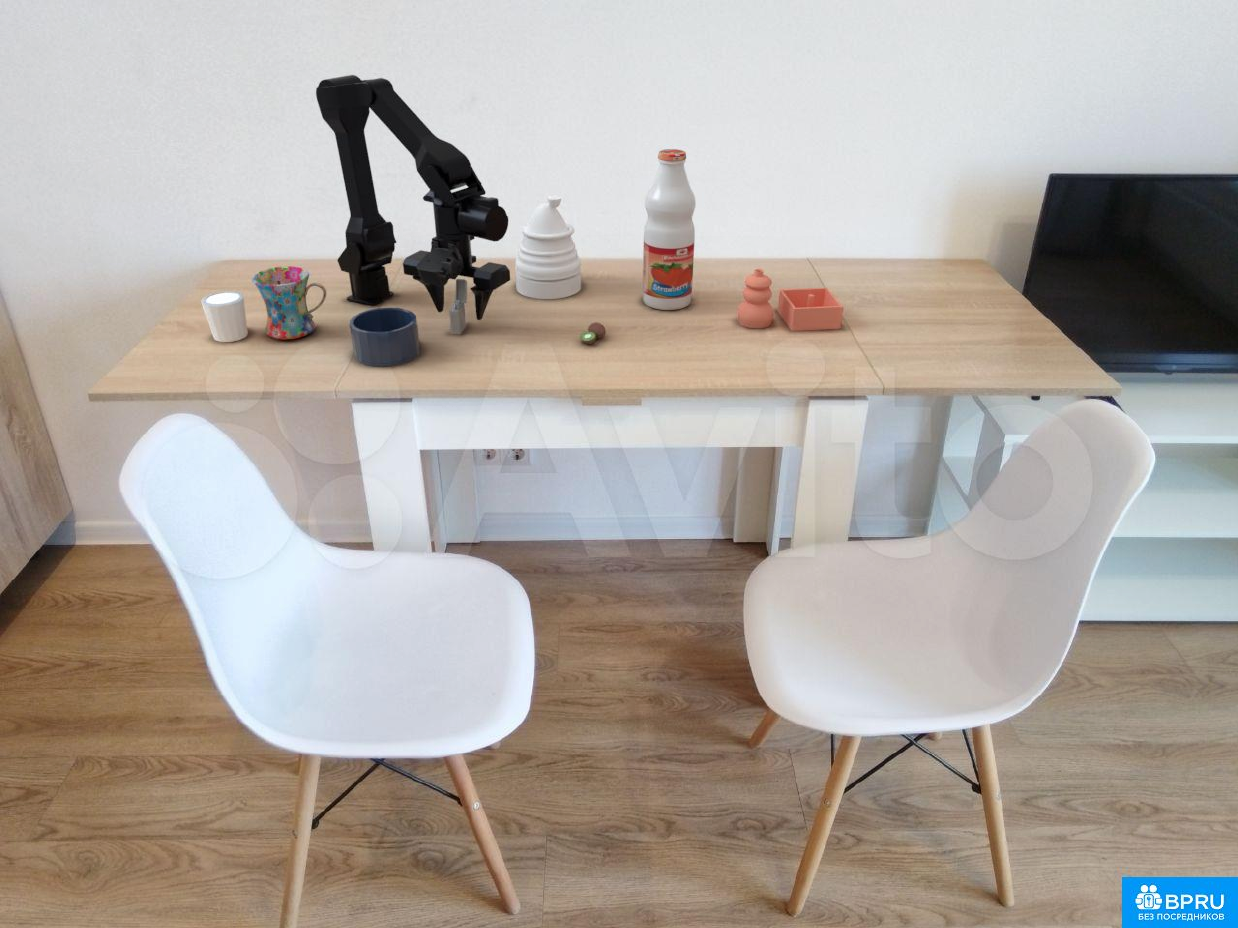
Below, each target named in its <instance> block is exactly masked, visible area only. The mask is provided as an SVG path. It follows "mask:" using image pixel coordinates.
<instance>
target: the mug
mask: <svg viewBox="0 0 1238 928" xmlns="http://www.w3.org/2000/svg"><path fill="white" fill-rule="evenodd" d="M309 278H310V272H309V271H308V270H307V269H306V268H303V267H299V266H291V265H289V266H287V265H286V266H285V265H284V266H276V267H270V268H266V269H263V270H260V271H258V272H256V273H255V274H254V275H253V276H252V279H251V281H252V283H253V284H254V285H255V287H256V288H257V290H258V291H259V294H260V295H261V297H262V300H263V303H264V305H265V309H266V326H265V329H264V331H265V334H266V335H267V336H268V337H270V338H272V339H277V340H295V339H300V338H303V337H305V336H308V335H310V334H312V333H313V332H314V330H316V322H315V321H314V320H313V318H314V316H313V315H312V313H314V312H315V311H317V310H318V309H319V308H320V307H321V306H322V305H323V304H324V302H325V300H326V298H327V289H326V287H325V286H324V285H323V284H320V283H318V282H313V283H310V284H309V285H308V281H309ZM311 287H318V288H320V289H321V290H322V292H323V294H322V295H323V296H322V298H321V301H320V302H319V303H318V304H317V305H316V306H315V307H314V308H312V309H310V310H309V308H308V305H307V295H308V292H309V290H310V288H311Z"/></svg>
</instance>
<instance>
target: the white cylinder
mask: <svg viewBox="0 0 1238 928" xmlns="http://www.w3.org/2000/svg"><path fill="white" fill-rule="evenodd" d="M200 302H201V306H202V308H203V311H204V315H205V317H206V321H207V323H208V327H209V329H210V331H211V335H212V337H213V339H214V340H215V341H216V342H220V343H232V342H237V341H241V340H243V339H245V338H246V337H247V336H248V323H247V315H246V306H245V297H244V294H242V293H241V292H238V291H230V290H229V291H218V292H214V293H210V294H208V295H205V296H204V297H203V298H201V301H200Z"/></svg>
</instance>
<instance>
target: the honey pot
mask: <svg viewBox="0 0 1238 928" xmlns="http://www.w3.org/2000/svg"><path fill="white" fill-rule="evenodd" d="M546 200H547V202H542V203H541V204H539V205H538V206H537V207H536V208H535V209H534V211H533V212H532V214H531V216H530V218H529V221H528V223H527V224H525V225H524V226H523V227H522V229H521V230H522V231H521V232H522V234H523V237H522V240H521V242H520V243H519V250H518V252H517V257H516V259H515V264H514V266H515V286H516V287H515V289H516V291H517V292H518V293H519V294H520V295H522V296H524V297H528V298H531V299H538V300H559V299H564V298H568V297H571V296H574V295H576V294H577V293H578V292H580V291H581V289H582V263H581V258H580V257H579V255H578V250H577V249H576V243H575V242H574V240H573V238H572V235H573V234H574V233H575V227H574V226H573V225H572V224H571V223H568V222H566V221H565V219H564V218H563V216H562V214H561V213H560V211H559V210H558V207H560V205H561V202H562V197H561V196H559V195H549V196H547V199H546Z"/></svg>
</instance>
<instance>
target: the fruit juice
mask: <svg viewBox="0 0 1238 928" xmlns="http://www.w3.org/2000/svg"><path fill="white" fill-rule="evenodd" d="M657 159H658V162H659V166H658V169H657V171H656V175H655V178H654V180H653V183H652V185H651V186H650V188H649V190H648V192H647V193H646V196H645V202H644V205H645V206H644V207H645V211H646V216H647V219H646V222H645V224H644V228H643V251H642V252H643V253H642V255H643V257H642V258H643V259H642V301H643V303H644V304H645V306H648V307H649V308H651V309H655V310H661V311H675V310H682V309H684V308H686V307H688V306H689V305H690V304H691V302H692V298H693V297H692V296H693V278H694V259H695V257H694V256H695V239H696V233H695V232H696V231H695V224H694V221H693V216H694V212H695V209H696V195H695V193H694V191H693V189H692V187H691V185H690V183H689V182H690V181H689V179H688V175H687V172H686V169H685V163H686V162H687V161H686V159H687V152H686V151H684V150H682V149H676V148H666V149H665V148H664V149H661V150H659V151H658V153H657Z"/></svg>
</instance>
